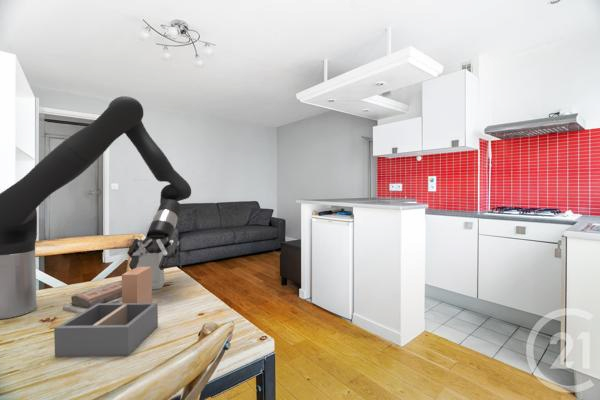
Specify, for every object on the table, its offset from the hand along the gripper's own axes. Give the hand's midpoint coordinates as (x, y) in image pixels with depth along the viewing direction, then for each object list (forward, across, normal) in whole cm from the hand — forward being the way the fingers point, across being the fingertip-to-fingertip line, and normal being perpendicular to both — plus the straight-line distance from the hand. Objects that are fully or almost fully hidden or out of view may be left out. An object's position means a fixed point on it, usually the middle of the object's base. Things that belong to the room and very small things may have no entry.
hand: (146, 268), depth 85 cm
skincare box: (-3, -7, +19) cm, 21 cm away
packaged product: (+6, -15, +11) cm, 20 cm away
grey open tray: (+22, +2, -6) cm, 23 cm away
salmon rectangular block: (+11, 0, +4) cm, 12 cm away
